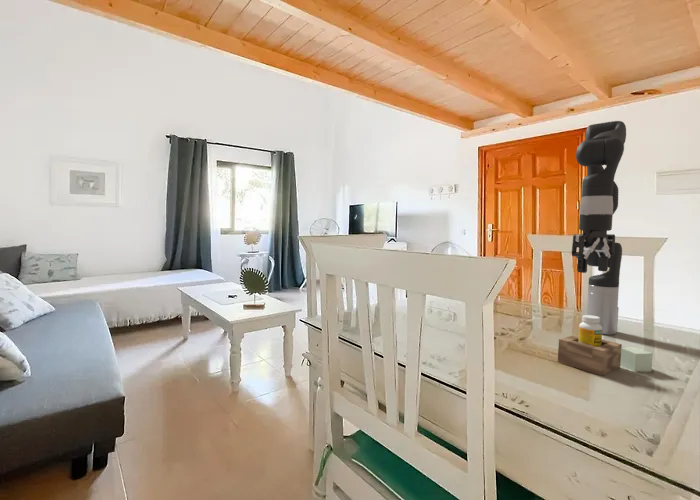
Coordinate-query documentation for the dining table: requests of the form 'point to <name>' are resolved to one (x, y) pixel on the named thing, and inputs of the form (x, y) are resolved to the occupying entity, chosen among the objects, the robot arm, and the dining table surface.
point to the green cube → (636, 359)
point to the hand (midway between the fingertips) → (592, 271)
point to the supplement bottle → (590, 331)
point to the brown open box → (589, 355)
